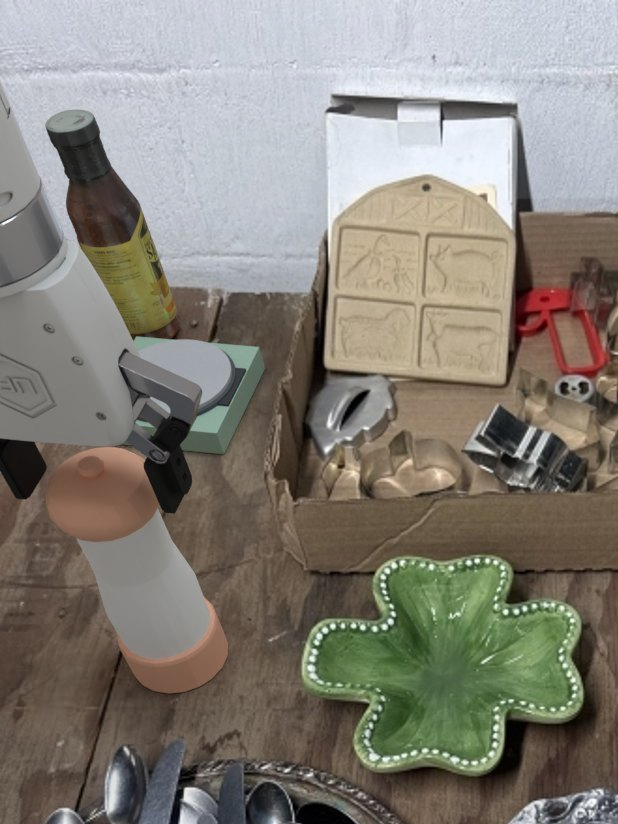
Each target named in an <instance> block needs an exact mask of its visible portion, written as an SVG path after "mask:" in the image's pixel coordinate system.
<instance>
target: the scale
mask: <svg viewBox="0 0 618 824" xmlns="http://www.w3.org/2000/svg"><path fill="white" fill-rule="evenodd" d="M133 342H134V344H135V346H136V348H137V351H138V353H139V355H140V357H141V359H144V360H146V361H148V362H150V363H152V364H154V365H157V366H159V367H161V368H163V369H165V370H168V371H170V372H172V373H174V374H176V375H178V376H181V377H183V378H185V379H187V380H189V381H192V382H194V383H196V384H197V385H199V386H200V387H201V389H202V397H201V401H200V404H199V408H198V412H197V418H196V420H195V422H194V424H193V426H192V428H191V430H190V432H189V433H188V435H187V437H186V439H185V440H184V441H183V442H182V443H181V444H180V446H181V449H182V451H183V452H196V453H205V454H216V455H225V454H226V451H227V449H228V447H229V445H230V443H231V441H232V439H233V437H234V435H235V432H236V430H237V428H238V426H239V424H240V422H241V420H242V418H243V416H244V414H245V412H246V410H247V408H248V405H249V404H250V401H251V399H252V397H253V395H254V393H255V391H256V389H257V387H258V385H259V382H260V380H261V378H262V376H263V374H264V372H265V370H266V367H265V363H264V360H263V355H262V351H261V349H260V346H252V345H242V344H229V343H218V342H206V341H202V340H199V339H186V338H184V339H180V338H179V339H173V338H172V339H161V338H149V337H137V336H136V338H135V339H134V341H133ZM150 399H152V400H153V401H154V402H155V403H157V404H158V405H159V406H160V407H162V408H163V409H164V410H166V411H167V412H168V413H169V414H170V412H171V411H170V408H169V406H168V405H167V404H165V403H164V402H162V401H160V400H157V399H155V398H153V397H151V398H150ZM135 423H136V424H138V425H139V426H140V427H142V428H143V429H144V430H146V431H147V432H148V433H149V434H151V435H152V436H154V434H155V432H156V431H157V429H156V428H155V427H153V426H152V425H151V424H149V423H148V422H147V421H146V420H144V419H143V418H142V417H140V416H139V417H138V418H137V420H136V422H135ZM121 445H122V446H123V445H125V446H131V445H130V444H129V443H128V442H126V441H125V442H124V443H122V444H121Z"/></svg>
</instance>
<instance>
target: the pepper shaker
mask: <svg viewBox="0 0 618 824" xmlns="http://www.w3.org/2000/svg"><path fill="white" fill-rule="evenodd" d="M145 460H146V459H144V457H142V456H140V455H139V454H136V453H134V452H132V451H130V450H127V449H125V448H122V447H121V448H120V447H116V446H112V447H92V448H89V449H87V450H83V451H79V452H78V453H75V454H74V455H72V456H70V457H68V458H67V459H65V460H64V461H63V462H61V464H59V465H58V466H57V467H55V469H54V471H53V473H52V474H51V476H50V477H49V479H48V483H47V486H46V491H45V496H44V499H45V505H46V506H45V507H46V510H47V513H48V517H49V520H51V521H52V522H53V523H54V524H55V525H56V526H57V527H58V529H60V530H61V531H63V532H64V533H65V534H67V535H68V536H71V537H73V538H75V539H76V540H77V543H78V545H79V547H80V548H81V551H82V552H83V555H84V556H85V559H86V560H87V562H88V564H89V566H90V568H91V570H92V572H93V574H94V577H95V581H96V584H97V587H98V590H99V595H100V598H101V602H102V605H103V608H104V609H103V610H104V612H105V615H106V617H107V619H108V620H109V621H110V623H111V625H112V627H113V629H114V630H115V632H116V641H117V644H118V648H119V651H120V652H121V655H122V656H123V658H124V660H125V661H126V664H127V665H128V667H129V668H130V670H131V672H132V674H133V677H134V678H136V680H137V681H138V682H139V683H140V684H141V685H142V686H143V687H145V688H147V689H149V690H151V691H153V692H157V693H163V694H178V693H179V694H180V693H187V692H188V691H189V692H190V691H191V690H194V689H197V688H200V687H202V686H203V685H204V684H206V683H208V682H209V681H211V680H212V679H213V678H214V677H215V676H216V675H217V674H218V673H219V672H220V671H221V670H222V669H223V667H224V665H225V663H226V660H227V659H228V656H229V642H228V639H227V637H226V634H225V630H224V628H223V626H222V624H221V621H220V619H219V617H218V614H217V612H216V610H215V607H214V605H213V604H212V603H211V602H210V600H208V599H207V597H205V596H204V594H203V591H202V589H201V585H200V583H199V580H198V578H197V575H196V573H195V571H194V570H193V568H192V567H191V565H190V564H189V563H188V561H187V560H186V558H185V557H184V555H183V554H182V552H181V551H180V550H179V548H178V547H177V545H176V544H175V542H174V540H172V537H171V535H170V532H169V531H168V528H167V525H166V524H165V521H164V519H163V516H162V514H161V512H160V510H159V506H160V504H159V502H158V500H157V498H156V495H155V493H154V491H153V488H152V486H151V484H150V482H149V479H148V477H147V475H146V472H145V470H144V462H145Z"/></svg>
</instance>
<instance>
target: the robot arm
mask: <svg viewBox="0 0 618 824" xmlns="http://www.w3.org/2000/svg"><path fill="white" fill-rule="evenodd" d="M151 397H153V398H155V399H157V400H160V401H162V402H164V403H165V404H167V405H168V406H169V408H170V411H171V412H170V414H169V413H168V412H167V411H166V410H164V409H163V408H162V407H160V406H159V405H158V404H157V403H155V402H154V401H153V400H152V399H150V398H151ZM201 397H202V389H201V387H200V386H199V385H197V384H196V383H194V382H192V381H189V380H187V379H185V378H183V377H181V376H178V375H176V374H174V373H172V372H170V371H168V370H165V369H163V368H161V367H159V366H157V365H154V364H152V363H150V362H148V361H146V360H144V359H141V357H140V355H139V353H138V351H137V348H136V346H135V344H134V342H133V339H132V337H131V335H130V333H129V331H128V329H127V327H126V325H125V323H124V321H123V319H122V317H121V315H120V313H119V311H118V309H117V307H116V305H115V303H114V301H113V300H112V298H111V296H110V294H109V293H108V291H107V289H106V287H105V286H104V284H103V282H102V280H101V279H100V277H99V276H98V274H97V272H96V271H95V269H94V268H93V266H92V264H91V263H90V261H89V260H88V258H87V257H86V255H85V254H84V253H83V251H82V250H81V248H80V245H79V243H78V242H76V241H75V240H71V239H67V238H66V235H65V233H64V231H63V228H62V226H61V224H60V221H59V218H58V216H57V214H56V211H55V209H54V206H53V204H52V202H51V200H50V197H49V195H48V193H47V190H46V188H45V185H44V183H43V180H42V178H41V176H40V174H39V172H38V169H37V167H36V165H35V161H34V159H33V157H32V155H31V153H30V150H29V148H28V145H27V143H26V140H25V138H24V135H23V134H22V131H21V129H20V127H19V123H18V121H17V119H16V117H15V114H14V111H13V109H12V107H11V104H10V101H9V100H8V97H7V95H6V91H5V90H4V87H3V85H2V82H1V81H0V474H1V476H2V477H3V479H4V480H5V482H6V484H7V486H8V487H9V489H10V491H11V492H12V495H13V496H14V498H15V499H17V500H24V501H27V500H28V499H30V497H31V496H32V495H33V493H34V491H35V489H36V488H37V487H38V484H39V483H40V482H41V480H42V479H43V477H44V475H45V473H46V472H47V469H48V466H47V463H46V461H45V459H44V457H43V456H42V454H41V452H40V450H39V448H38V446H37V444H36V443H44V444H45V443H46V444H54V445H65V446H66V445H67V446H81V447H92V448H100V447H117V446H120V445H122V443H124V442H125V441H126V442H128V443H129V444H130V445H129V446H131V447H133V448H134V449H136V450H137V451H138V452H139V453H141V454H142V455H143V456H144V457H146V458H145V459H144V460H145V462H144V470H145V472H146V475H147V477H148V479H149V482H150V484H151V486H152V488H153V491H154V493H155V495H156V498H157V500H158V502H159V506H160V509H161V511H163V512H164V513H165V514H174V515H175V514H176V513H177V511H178V509H179V507H180V505H181V503H182V501H183V499H184V497H185V495H187V494H188V493H189V492H190V491H191V488H192V485H193V476H192V472H191V469H190V467H189V464H188V462H187V459H186V456H185V454H184V450H182V449H181V446H180V444H181V443H182V442H183V441H184V440H185V439H186V437H187V435H188V433H189V432H190V430H191V428H192V426H193V424H194V422H195V420H196V418H197V412H198V408H199V404H200V401H201ZM139 416H140V417H142V418H143V419H144V420H146V421H147V422H148V423H149V424H151V425H152V426H153V427H155V428H156V429H157V431H156V432H155V434H154V436H152V435H151V434H149V433H148V432H147V431H146V430H144V429H143V428H142V427H140V426H139V425H138V424H136V423H135V422H136V420H137V418H138V417H139Z"/></svg>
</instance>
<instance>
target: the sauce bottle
mask: <svg viewBox="0 0 618 824" xmlns="http://www.w3.org/2000/svg"><path fill="white" fill-rule="evenodd" d="M45 130H46V132H47V136H48V137H49V141H50V143H51V145H52V146H53V147H54V149H56V151H57V154H58V157H59V159H60V161H61V164H62V167H63V169H64V170H63V172H64V174H65V176H66V177H67V179H68V186H67V191H66V200H65V208H66V213H67V216H68V218H69V220H70V222H71V224H72V227H73V229H74V232H75V234H76V241H77V244H78V245H79V247H80V248H81V250H82V251H83V253H84V254H85V255H86V257H87V258H88V260H89V261H90V263H91V264H92V266H93V268H94V269H95V271H96V272H97V274H98V276H99V277H100V279H101V280H102V282H103V284H104V286H105V287H106V289H107V291H108V293H109V294H110V296H111V298H112V300H113V301H114V303H115V305H116V307H117V309H118V311H119V313H120V315H121V317H122V319H123V321H124V323H125V325H126V327H127V329H128V331H129V333H130V335H131V337H132V339H133V341H134V339H135V338H136V336H137V337H149V338H161V339H172V340H173V338H174V337H176V335H177V333H178V332H179V328H180V319H179V316H178V313H177V312H178V309H177V305H176V302H175V299H174V297H173V293H172V290H171V287H170V285H169V282H168V280H167V277H166V273H165V271H164V267H163V265H162V261H161V259H160V257H159V253H158V251H157V248H156V245H155V242H154V240H153V237H152V234H151V230H150V228H149V226H148V223H147V220H146V216H145V214H144V212H143V210H142V209H143V208H142V206H141V204H140V202H139V200H138V199H137V197H136V196H135V194H133V192H132V191H131V190H130V188H129V187H128V186H127V185H126V184H125V182H124V181H123V180H122V178H121V177H120V176H119V174H118V173H117V171H116V170H115V168H113V166H112V164H111V162H110V159H109V157H108V156H107V152H106V150H105V147H104V144H103V141H102V138H101V130H100V126H99V125H98V122H97V119H96V117H95V116H94V114H93V113H92V112H91V111H89V110H86V109H85V110H84V109H67V110H63V111H60V112H57V113H55V114H53V115H51V116H50V117H49V118H48V119H46V121H45Z"/></svg>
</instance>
